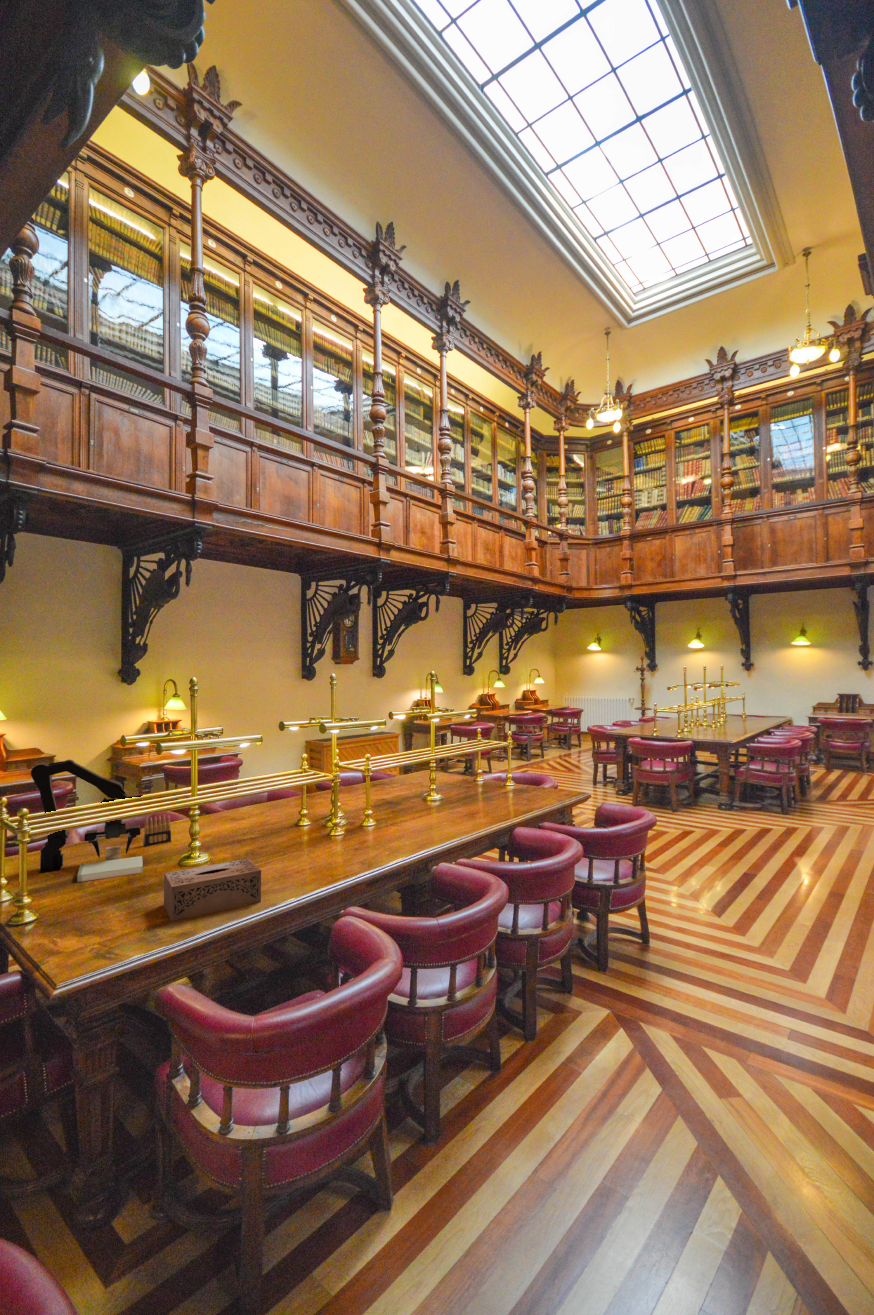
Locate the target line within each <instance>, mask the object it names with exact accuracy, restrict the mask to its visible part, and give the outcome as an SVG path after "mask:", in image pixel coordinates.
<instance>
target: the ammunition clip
mask: <svg viewBox="0 0 874 1315" xmlns="http://www.w3.org/2000/svg"><path fill="white" fill-rule="evenodd" d="M166 817H167V818H166ZM143 830H144V831H143V832H144V833H143V843H142V845H143V847H150V846H155V845H161V844H167V843H172V832H171V831H172V830H171V816H170V814H169V813H168V814H167V816H166V815H165V814H164V815H163V816H162V817H161V815H159V816H158V818H157V815H155V816H154V818H153V817H152V816H150V818H148V817H146V818H145V821H144V828H143Z"/></svg>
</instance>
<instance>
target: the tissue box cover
mask: <svg viewBox="0 0 874 1315" xmlns="http://www.w3.org/2000/svg"><path fill="white" fill-rule="evenodd" d="M163 877H164V878H163V906H164V909H165V911H166V913H167V915H168V917H169V919H170V922H174V921H178V920H183V919H188V918H192V917H197V916H201V915H202V916H203V915H207V914H212V913H215V912H216V913H217V912H220V911H224V910H228V909H234V908H238V907H239V908H240V907H244V906H247V905H248V906H249V905H252V904H257V903H261V902H262V869H260V868H259V866H257V865H256V864H255V862H253V861H252V860H251V859H250V858H245V859H238V860H232V861H227V862H226V861H225V862H221V863H220V862H219V863H215V864H207V865H204V866H198V867H193V868H185V869H181V870H176V871H168V872H164V874H163Z"/></svg>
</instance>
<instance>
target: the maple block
mask: <svg viewBox="0 0 874 1315" xmlns="http://www.w3.org/2000/svg"><path fill="white" fill-rule="evenodd" d="M121 850H122V849H121V845H115V846H109V847H108V846H106V847H105V856H104V861H108V860H116V859H121V852H122V851H121Z"/></svg>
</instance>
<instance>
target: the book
mask: <svg viewBox="0 0 874 1315" xmlns="http://www.w3.org/2000/svg"><path fill="white" fill-rule="evenodd" d="M143 865H144V863H143V855H140V856H139V855H138V856H132V857H125V858H120V859H116V860H108V861H105V860H102V861H94V862H86V863H80V865H79V868H78V872H77V874H76V876H77V880H76V882H77V883H81V882H82V883H83V882H87V881H95V880H101V879H109V878H115V877H123V876H130V875H131V876H132V875H135V874H136V875H137V874H143V873H144V872H143V871H144V869H143V867H144V866H143Z"/></svg>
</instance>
